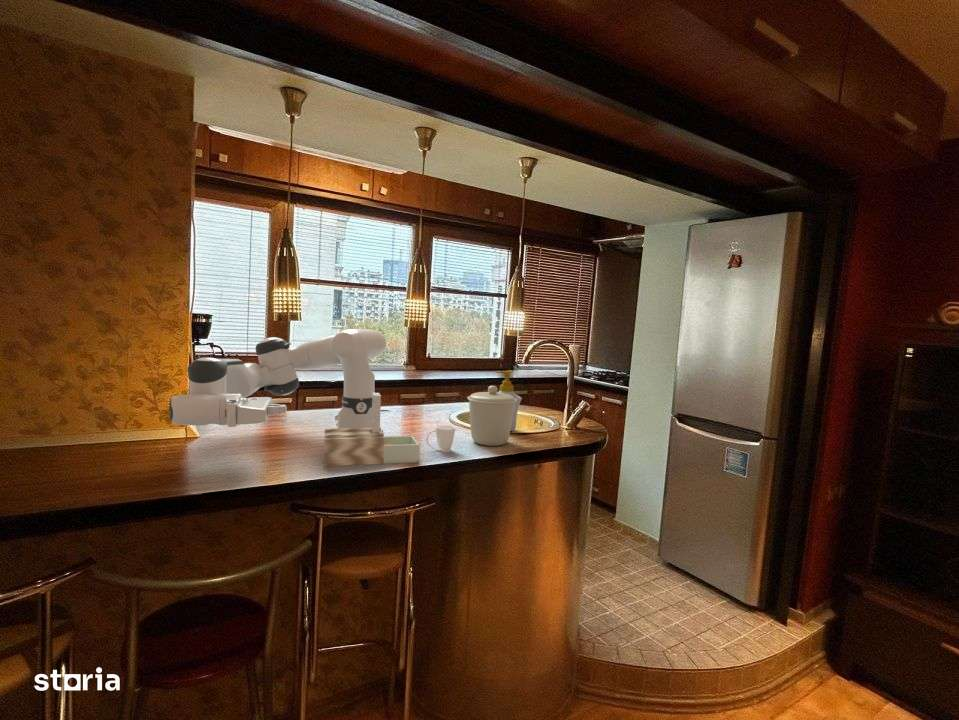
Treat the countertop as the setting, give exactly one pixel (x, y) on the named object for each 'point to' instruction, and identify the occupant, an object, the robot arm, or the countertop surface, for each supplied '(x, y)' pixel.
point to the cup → (443, 437)
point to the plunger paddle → (376, 413)
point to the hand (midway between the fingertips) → (286, 408)
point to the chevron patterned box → (353, 447)
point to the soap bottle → (508, 389)
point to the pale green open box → (401, 449)
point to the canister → (491, 416)
